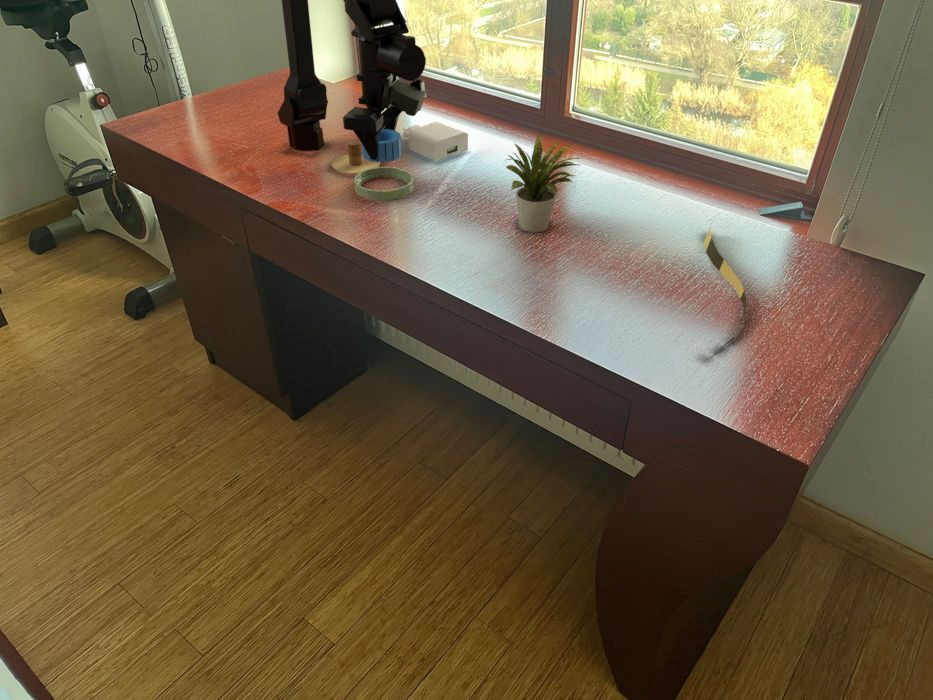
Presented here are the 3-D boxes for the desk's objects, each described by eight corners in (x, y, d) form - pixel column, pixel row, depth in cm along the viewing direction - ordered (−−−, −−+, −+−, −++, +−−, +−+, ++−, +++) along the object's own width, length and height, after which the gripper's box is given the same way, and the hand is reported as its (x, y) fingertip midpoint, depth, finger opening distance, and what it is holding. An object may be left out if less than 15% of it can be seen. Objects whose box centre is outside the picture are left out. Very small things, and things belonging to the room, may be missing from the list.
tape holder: (323, 172, 152) (321, 148, 149) (344, 154, 159) (342, 130, 156) (369, 179, 150) (367, 154, 146) (387, 160, 157) (386, 136, 154)
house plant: (537, 256, 126) (544, 165, 116) (476, 229, 133) (478, 141, 123) (586, 227, 134) (597, 140, 124) (526, 203, 142) (532, 119, 132)
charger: (421, 133, 169) (467, 152, 161) (390, 144, 164) (436, 164, 156) (421, 112, 167) (468, 131, 158) (389, 123, 161) (436, 142, 153)
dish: (345, 199, 142) (344, 186, 141) (369, 175, 151) (368, 163, 149) (401, 207, 140) (400, 195, 138) (421, 183, 148) (421, 170, 147)
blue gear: (356, 159, 139) (354, 140, 137) (371, 144, 145) (370, 126, 142) (393, 164, 137) (392, 145, 135) (407, 149, 143) (406, 131, 141)
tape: (737, 240, 132) (743, 221, 129) (747, 369, 102) (755, 347, 100) (702, 235, 133) (708, 215, 130) (702, 361, 103) (709, 339, 101)
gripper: (399, 88, 122) (403, 177, 132) (437, 56, 136) (438, 139, 146) (337, 81, 125) (346, 168, 134) (380, 50, 139) (385, 132, 148)
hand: (381, 151), depth 141 cm, fingers closed on blue gear, 7 cm apart
